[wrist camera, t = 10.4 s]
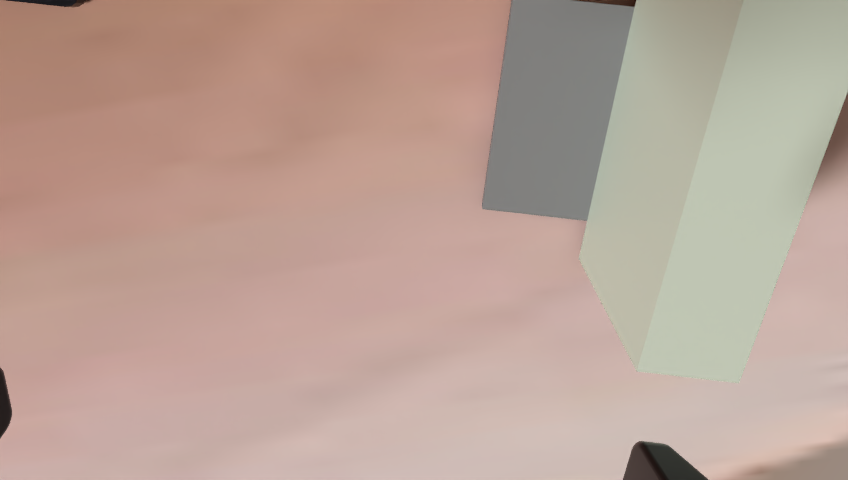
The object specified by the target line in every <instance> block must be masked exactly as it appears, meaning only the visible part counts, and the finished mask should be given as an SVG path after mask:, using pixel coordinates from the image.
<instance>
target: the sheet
mask: <svg viewBox="0 0 848 480" xmlns="http://www.w3.org/2000/svg"><path fill="white" fill-rule="evenodd" d="M847 92H848V0H636V3H635V8H634V12H633V17H632V21H631V26H630V30H629V35H628V39H627V44H626V48H625V53H624V57H623V62H622V66H621V71H620V75H619V80H618V84H617V89H616V93H615V98H614V102H613V107H612V111H611V116H610V120H609V125H608V129H607V134H606V138H605V143H604V147H603V152H602V156H601V161H600V165H599V170H598V174H597V179H596V183H595V188H594V192H593V197H592V201H591V206H590V210H589V215H588V219H587V224H586V228H585V233H584V237H583V242H582V246H581V251H580V255H579V260H580V262H581V264H582V266H583V268H584V270H585V272H586V274H587V276H588V278H589V279H590V281H591V283H592V285H593V287H594V289H595V291H596V293H597V295H598V297H599V299H600V301H601V303H602V305H603V307H604V309H605V311H606V313H607V315H608V317H609V318H610V320H611V322H612V324H613V326H614V328H615V330H616V332H617V334H618V336H619V338H620V340H621V342H622V344H623V346H624V348H625V350H626V352H627V354H628V355H629V357H630V359H631V361H632V363H633V365H634V367H635V369H636V371H638V372H647V373H655V374H664V375H672V376H681V377H689V378H698V379H706V380H715V381H723V382H732V383H739V382H740V379H741V376H742V374H743V371H744V368H745V366H746V363H747V360H748V358H749V355H750V352H751V350H752V347H753V344H754V342H755V339H756V336H757V334H758V331H759V328H760V326H761V323H762V320H763V318H764V315H765V312H766V309H767V307H768V304H769V301H770V299H771V296H772V293H773V291H774V288H775V285H776V283H777V280H778V277H779V275H780V272H781V269H782V267H783V264H784V261H785V259H786V256H787V253H788V251H789V248H790V245H791V243H792V240H793V237H794V234H795V232H796V229H797V226H798V224H799V221H800V218H801V216H802V213H803V210H804V208H805V205H806V202H807V200H808V197H809V194H810V192H811V189H812V186H813V184H814V181H815V178H816V176H817V173H818V170H819V168H820V165H821V162H822V159H823V157H824V154H825V151H826V149H827V146H828V143H829V141H830V138H831V135H832V133H833V130H834V127H835V125H836V122H837V119H838V117H839V114H840V111H841V109H842V106H843V103H844V101H845V98H846V95H847Z"/></svg>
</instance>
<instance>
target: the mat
mask: <svg viewBox="0 0 848 480" xmlns="http://www.w3.org/2000/svg"><path fill="white" fill-rule="evenodd" d="M634 8H635V7H631V6H621V5H612V4H602V3H593V2H583V1H574V0H512V1H511V8H510V15H509V22H508V29H507V36H506V43H505V50H504V57H503V63H502V70H501V77H500V84H499V91H498V98H497V105H496V112H495V119H494V126H493V133H492V139H491V146H490V153H489V160H488V167H487V174H486V181H485V188H484V195H483V202H482V208H483V209H487V210H496V211H504V212H513V213H522V214H531V215H540V216H549V217H558V218H567V219H576V220H584V221H587V219H588V215H589V210H590V206H591V201H592V197H593V192H594V188H595V183H596V179H597V174H598V170H599V165H600V161H601V156H602V152H603V147H604V143H605V138H606V134H607V129H608V125H609V120H610V116H611V111H612V107H613V102H614V98H615V93H616V89H617V84H618V80H619V75H620V71H621V66H622V62H623V57H624V53H625V48H626V44H627V39H628V35H629V30H630V26H631V21H632V17H633V12H634Z"/></svg>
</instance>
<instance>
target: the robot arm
mask: <svg viewBox="0 0 848 480" xmlns="http://www.w3.org/2000/svg"><path fill="white" fill-rule="evenodd" d="M8 1H17V2H26V3H36V4H45V5H54V6H64V7H78V6H80V5H82V4H83V3H84V1H85V0H8ZM11 417H12V408H11V403H10V399H9V394H8V389H7V385H6V380H5V376H4V372H3V370H2V369H1V368H0V438H1V437H2V435H3V434H4V432H5V431H6V429H7V428H8V426H9V424H10V421H11ZM623 480H708V479H707V478H706V477H705V476H704V475H702V474H701V473H700V472H699V471H698V470H697V469H695V468H694V467H693V466H692V465H691V464H690V463H688V462H687V461H686V460H685V459H684V458H683V457H681V456H680V455H679V454H678V453H677V452H676V451H674V450H673V449H672V448H671V447H669V446H668V445H666V444H662V443H653V442H645V441H639V442H637V443H636V444H635V445H634V446H633V449H632V451H631V454H630V458H629V461H628V464H627V468H626V471H625V474H624V478H623Z"/></svg>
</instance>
